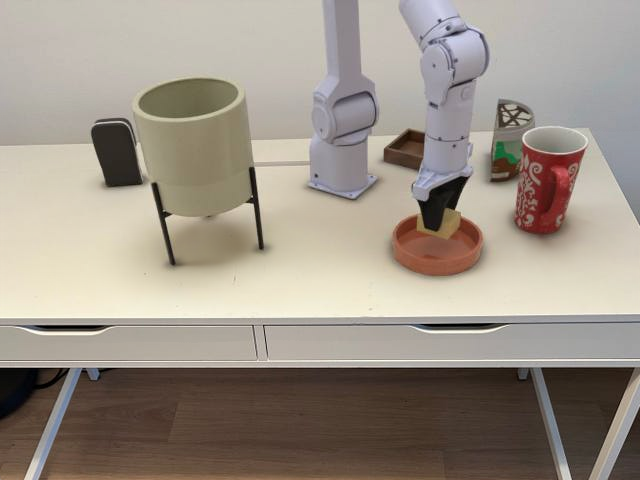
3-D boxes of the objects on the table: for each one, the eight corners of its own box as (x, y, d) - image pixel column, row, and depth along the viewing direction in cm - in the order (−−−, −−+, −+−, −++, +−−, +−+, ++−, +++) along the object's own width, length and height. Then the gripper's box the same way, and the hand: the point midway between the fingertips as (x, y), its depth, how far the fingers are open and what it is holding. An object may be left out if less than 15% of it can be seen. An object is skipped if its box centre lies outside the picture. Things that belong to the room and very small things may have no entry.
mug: (503, 206, 106) (517, 125, 97) (561, 205, 105) (581, 124, 96) (514, 251, 97) (531, 167, 88) (578, 251, 96) (601, 166, 87)
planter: (253, 207, 110) (236, 66, 95) (270, 260, 99) (253, 110, 83) (163, 222, 109) (129, 81, 93) (169, 278, 97) (132, 128, 81)
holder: (383, 161, 120) (383, 148, 118) (407, 140, 125) (408, 128, 123) (429, 173, 115) (430, 159, 114) (452, 151, 121) (453, 138, 119)
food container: (528, 188, 110) (539, 130, 103) (490, 186, 111) (499, 129, 104) (525, 153, 119) (535, 98, 112) (490, 152, 120) (498, 97, 113)
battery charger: (146, 174, 121) (131, 113, 113) (143, 184, 118) (128, 123, 110) (108, 177, 121) (91, 116, 113) (104, 187, 118) (86, 126, 111)
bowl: (376, 258, 98) (376, 244, 96) (417, 217, 105) (418, 203, 104) (457, 285, 92) (459, 271, 90) (494, 240, 100) (496, 226, 98)
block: (416, 230, 96) (417, 215, 95) (428, 217, 99) (430, 202, 97) (447, 240, 94) (449, 225, 92) (459, 226, 96) (461, 211, 95)
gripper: (451, 162, 80) (441, 254, 90) (498, 116, 88) (485, 205, 98) (400, 149, 83) (395, 240, 93) (450, 106, 92) (441, 193, 101)
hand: (438, 221), depth 95 cm, fingers closed on block, 4 cm apart
